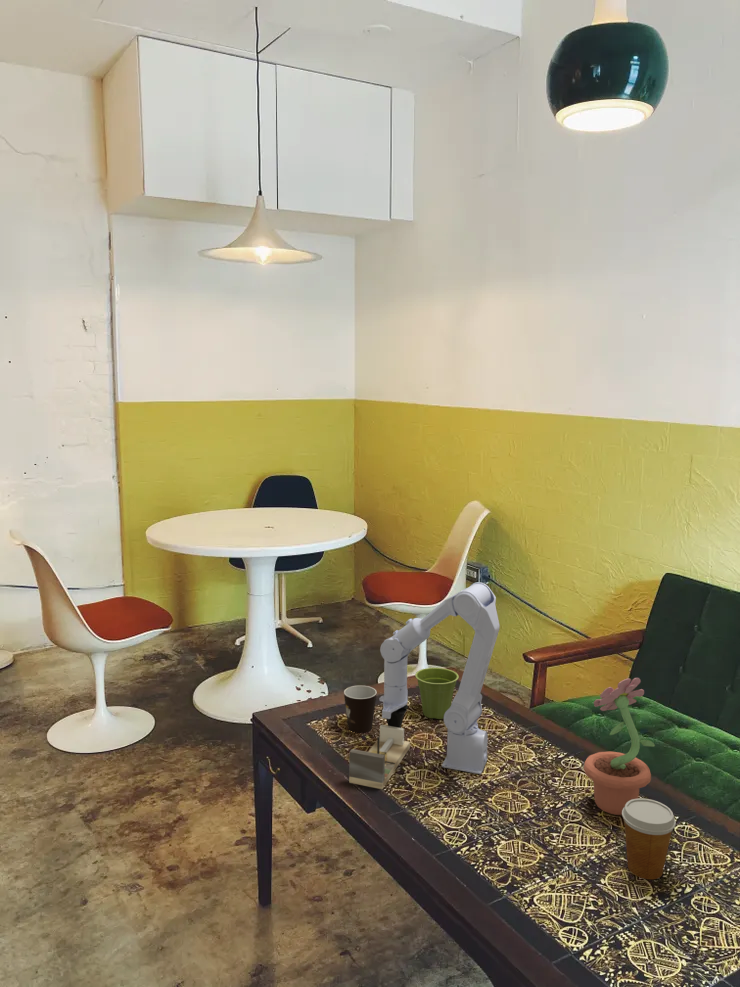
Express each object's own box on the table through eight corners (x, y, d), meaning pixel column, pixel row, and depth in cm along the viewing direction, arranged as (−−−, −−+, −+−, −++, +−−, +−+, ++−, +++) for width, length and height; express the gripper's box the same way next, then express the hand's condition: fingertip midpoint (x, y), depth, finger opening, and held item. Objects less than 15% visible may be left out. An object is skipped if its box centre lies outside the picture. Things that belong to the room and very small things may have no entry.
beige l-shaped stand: (379, 742, 196) (380, 714, 195) (409, 747, 193) (410, 719, 192) (349, 782, 177) (349, 751, 175) (382, 789, 174) (382, 758, 173)
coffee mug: (376, 735, 199) (376, 699, 198) (342, 735, 200) (342, 698, 198) (376, 716, 211) (377, 681, 209) (345, 715, 211) (345, 680, 210)
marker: (372, 757, 184) (372, 734, 183) (396, 762, 182) (396, 738, 181) (369, 761, 183) (369, 737, 182) (393, 766, 181) (393, 742, 180)
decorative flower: (626, 784, 177) (634, 659, 172) (666, 817, 164) (676, 683, 159) (569, 794, 172) (576, 666, 168) (606, 829, 159) (614, 691, 155)
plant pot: (464, 711, 214) (465, 672, 213) (445, 727, 204) (446, 687, 203) (427, 701, 221) (427, 663, 219) (406, 716, 211) (407, 677, 209)
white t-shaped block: (381, 739, 194) (381, 724, 193) (403, 743, 192) (404, 728, 191) (369, 754, 186) (369, 739, 185) (393, 759, 184) (393, 743, 183)
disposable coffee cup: (629, 847, 153) (633, 791, 151) (678, 867, 147) (683, 809, 145) (610, 871, 146) (614, 812, 144) (661, 892, 140) (665, 831, 138)
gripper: (389, 670, 200) (389, 719, 202) (370, 691, 187) (370, 744, 189) (415, 673, 198) (414, 723, 200) (398, 695, 184) (397, 749, 186)
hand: (394, 734), depth 194 cm, fingers closed
